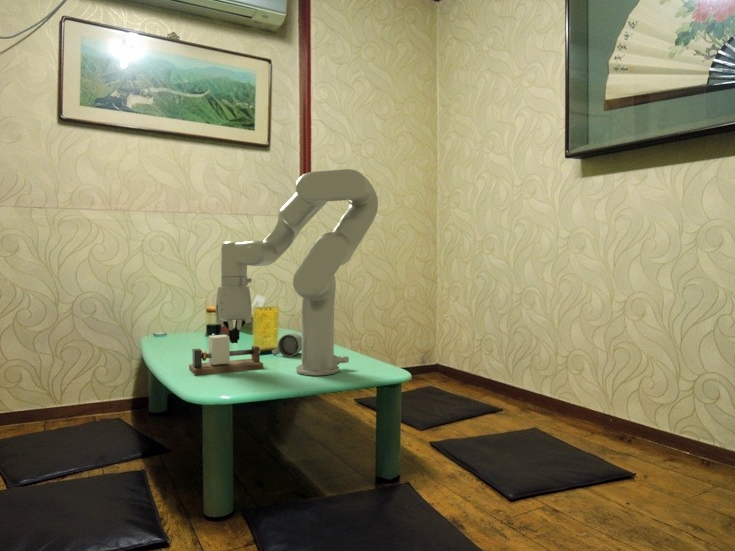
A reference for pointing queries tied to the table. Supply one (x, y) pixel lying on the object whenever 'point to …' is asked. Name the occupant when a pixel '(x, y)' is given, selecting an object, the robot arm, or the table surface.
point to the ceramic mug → (289, 345)
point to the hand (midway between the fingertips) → (233, 342)
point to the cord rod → (202, 355)
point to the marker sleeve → (219, 349)
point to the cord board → (230, 365)
